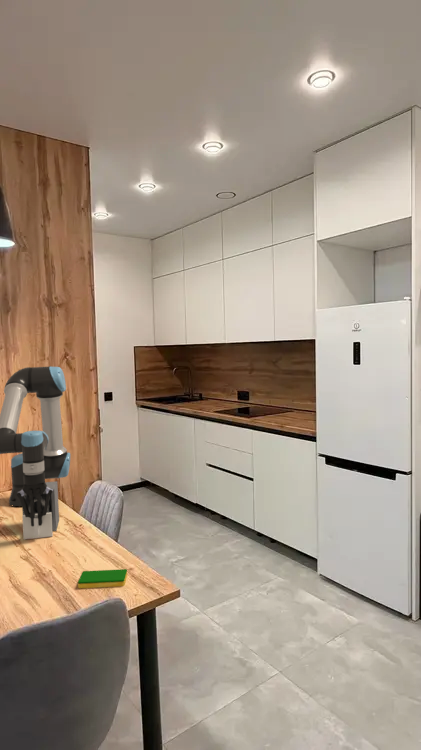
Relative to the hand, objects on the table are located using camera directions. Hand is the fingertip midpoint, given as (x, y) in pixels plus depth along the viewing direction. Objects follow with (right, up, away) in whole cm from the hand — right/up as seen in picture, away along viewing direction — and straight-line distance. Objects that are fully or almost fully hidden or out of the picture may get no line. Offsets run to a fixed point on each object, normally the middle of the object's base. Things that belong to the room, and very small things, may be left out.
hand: (37, 533), depth 179 cm
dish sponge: (+33, -4, -33) cm, 47 cm away
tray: (-2, -2, +10) cm, 10 cm away
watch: (-3, -1, +11) cm, 11 cm away
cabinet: (-3, -2, +13) cm, 14 cm away
